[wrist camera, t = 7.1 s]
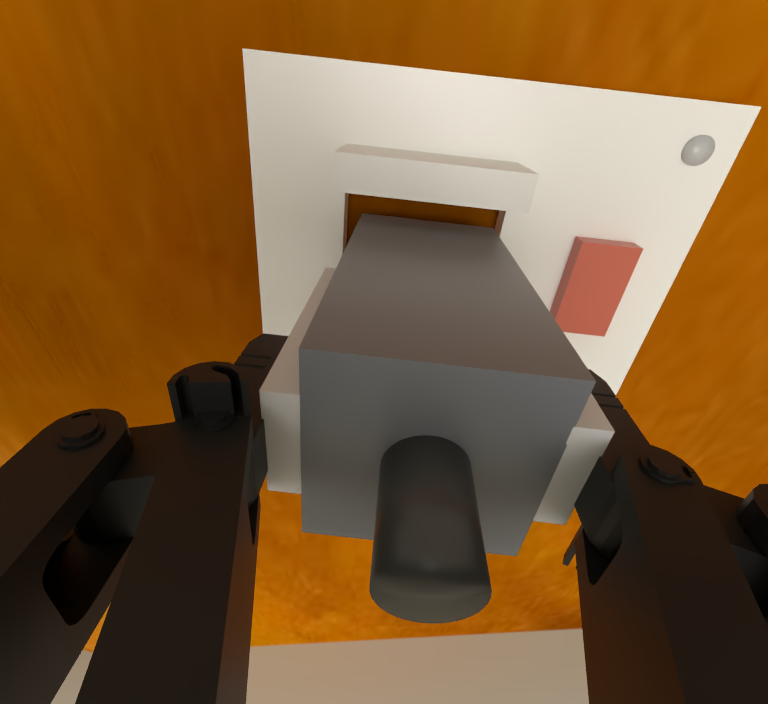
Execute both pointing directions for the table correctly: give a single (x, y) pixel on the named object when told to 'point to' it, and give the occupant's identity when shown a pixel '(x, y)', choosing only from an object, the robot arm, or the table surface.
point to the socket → (489, 181)
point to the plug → (432, 409)
